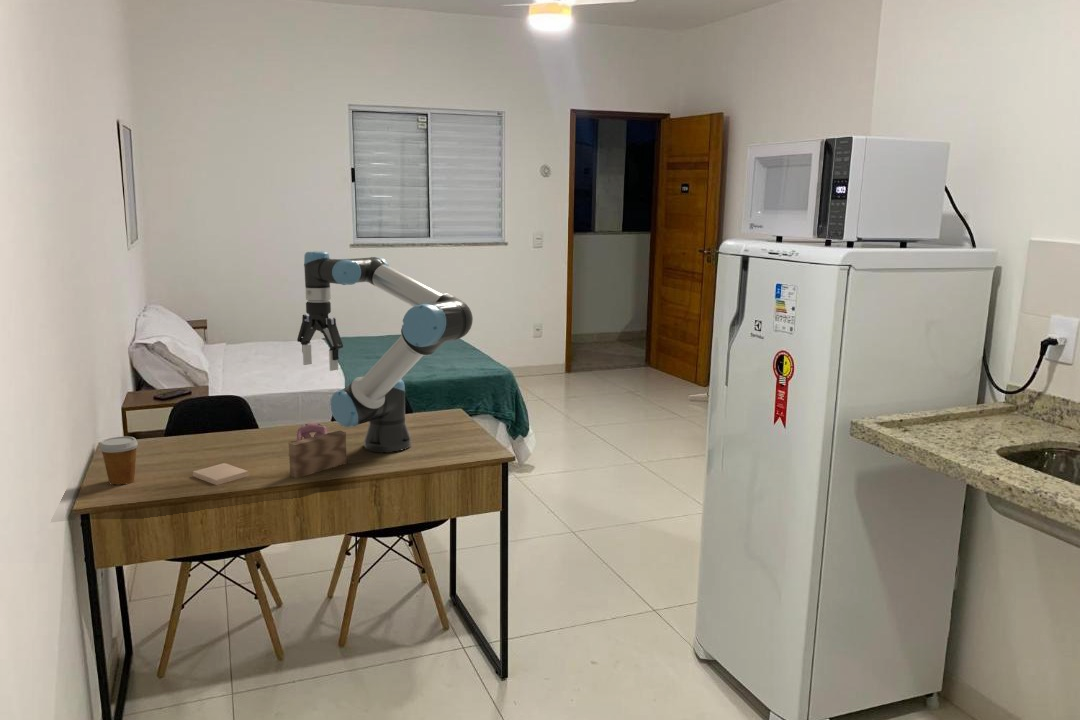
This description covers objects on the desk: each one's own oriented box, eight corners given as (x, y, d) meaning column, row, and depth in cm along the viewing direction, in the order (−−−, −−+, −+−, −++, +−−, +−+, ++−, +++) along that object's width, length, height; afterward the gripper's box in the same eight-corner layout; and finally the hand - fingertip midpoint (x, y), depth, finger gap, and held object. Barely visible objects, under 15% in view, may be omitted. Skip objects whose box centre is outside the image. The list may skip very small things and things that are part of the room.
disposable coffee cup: (132, 487, 219) (129, 445, 217) (96, 487, 219) (92, 445, 216) (146, 476, 229) (143, 435, 226) (112, 476, 228) (108, 436, 226)
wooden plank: (340, 461, 245) (339, 430, 243) (346, 463, 243) (345, 432, 241) (290, 476, 231) (288, 443, 229) (296, 478, 229) (294, 445, 227)
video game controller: (328, 444, 268) (327, 423, 270) (327, 441, 264) (327, 421, 265) (297, 445, 266) (297, 424, 268) (296, 443, 262) (296, 422, 263)
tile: (224, 463, 237) (192, 471, 229) (248, 471, 230) (216, 480, 222) (224, 469, 237) (193, 478, 229) (248, 477, 230) (216, 487, 222)
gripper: (284, 298, 254) (287, 363, 258) (333, 305, 239) (335, 374, 243) (304, 296, 260) (306, 360, 264) (353, 303, 245) (355, 370, 249)
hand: (320, 367), depth 253 cm, fingers open, 13 cm apart
